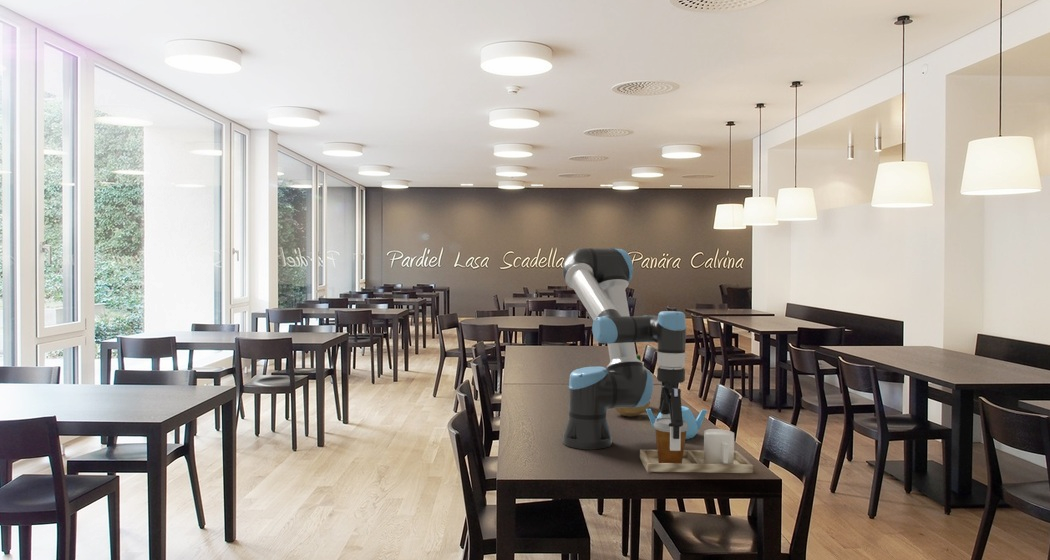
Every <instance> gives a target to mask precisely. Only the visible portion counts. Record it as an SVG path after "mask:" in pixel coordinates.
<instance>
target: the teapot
mask: <svg viewBox="0 0 1050 560" xmlns="http://www.w3.org/2000/svg"><path fill="white" fill-rule="evenodd" d="M681 408H682V419H683V420H685V421H687V425H688V429H687V431H686V438H685V440H689V439H690V438H691V439H693V438H694V437H695V436H696V435H697V434H698V431H699V430H700V429H701V426H702V424H703V422H704V419H705V417H706V415H707V413H708V410H707V409H701V410H700V412H699V414H698V416H697V417H696V418H695V416H694V414H693V412H692V410H691V408H689V407H687V406H683V405H681ZM645 412H646V413H647V416H648V418H649V421H650V424H651V426H652V428H653V429H654V430H655V428H654V426H653V424H654V423H655V420H656V419H657V418H661V412H659V413H658V415H657V417H655V415H654V413H653V411H652V409H651V408H648V409H646V411H645Z"/></svg>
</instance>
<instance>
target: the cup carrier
mask: <svg viewBox="0 0 1050 560" xmlns="http://www.w3.org/2000/svg"><path fill="white" fill-rule="evenodd" d="M639 459H640V461H641V463H642V465H643V467H644V469H645V471H646V473H647V474H652V473H653V472H654V473H655V472H656V473H706V474H707V473H714V474H716V473H719V474H720V473H721V474H722V473H723V474H754V465H753V464H752V463H751V462H750V461H749V460H748V459H747V458H746V457H745V456H744V455H742V454H741V453H740V452H739V451H738V450H734V464H704V449H702V450H699V449H696V450H695V449H694V450H693V449H692V450H691V449H687V450H686V449H684V452H683V459H682V463H659V461H658V452H657V449H639Z"/></svg>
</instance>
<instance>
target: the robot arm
mask: <svg viewBox="0 0 1050 560" xmlns="http://www.w3.org/2000/svg"><path fill="white" fill-rule="evenodd" d="M561 271H562V273H561V274H562V278H563V281H564V282H565V284H566V285H567V286H568V287H569V288H570V289H572V290H574V292H575V294H576V295H577V296H578V299H579V300H580V301H581V303H582V305H583V306H584V308H585V309H586V311H587V313H588V314H589V316H590V317H591V319H592V321H593V322H592V327H591V331H592V335H593V339H594V341H596V342H597V343H599V344H607V349H608V355H609V363H608V365H606V367H604V366H597V365H596V366H586V367H581V368H577V369H574V370H572V372H570V374H569V379H568V380H569V381H568V382H569V384H568V419H567V422H566V424H565V425H566V426H565V429H564V432H563V434H562V443H563V444H564V445H565V446H567V447H569V448H574V449H581V450H599V449H600V450H601V449H606V448H608V447H610V446H611V445H612V443H613V438H612V434H611V430H610V427H609V424H608V421H607V409H614V408H628V407H631V408H635V407H640V406H645V405H646V404H647V403H648V402H649V401H650V400H652V399H651V398H652V395H653V393H654V392H653V391H654V380H653V379H654V378H653V375H652V373H651V371H650V370H649V369H645V368H644V365H643V363H642V362H641V361H642V360H641V361H640V360H638V359H637V356H636V355H637V352H636V351H637V350H636V344H635V343H656V344H657V350H656V351H657V352H656V353H657V356H656V358H657V359H656V360H657V361H656V362H657V363H656V365H657V366H658V368H657V371H656V373H657V374H656V375H657V376H656V377H657V378H656V381H658V382H660V383H661V391H660V398H659V407H658V408H659V409H658V410H659V411H660V412H661V418H664V417H670V419H671V423H669V427H670V451H681V426H683V419H682V408H681V406H682V400H681V399H682V395H681V392H682V389H681V388H678V384H679V383H680V384H682V383H684V382H685V380H686V369H685V368H684V367H685V366H686V359H688V355H686V338H687V337H686V335H687V324H686V314H685V313H684V312H682V311H676V310H675V311H673V310H665V311H664V310H663V311H659V313H658V314H657V315H656V314H655V315H654V314H645V315H637V316H636V315H634V316H632V315H631V316H630V310H629V304H628V299H627V293H626V289H627V288H628V286H629V284H630V283H629V282H630V281H631V280H632V279H633V275H634V264H633V260H632V258H631V255H630V254H629V253H628V252H627V251H626V250H624V249H621V248H614V247H610V248H605V247H603V248H602V247H601V248H599V247H595V248H594V247H581V248H578V249H577V248H576V249H575V250H573V251H572V252H570V253H569V254H568V255H567V257H566V258H565V259H564V262H563V264H562V269H561ZM650 402H651V401H650ZM660 412H659V413H660Z"/></svg>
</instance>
